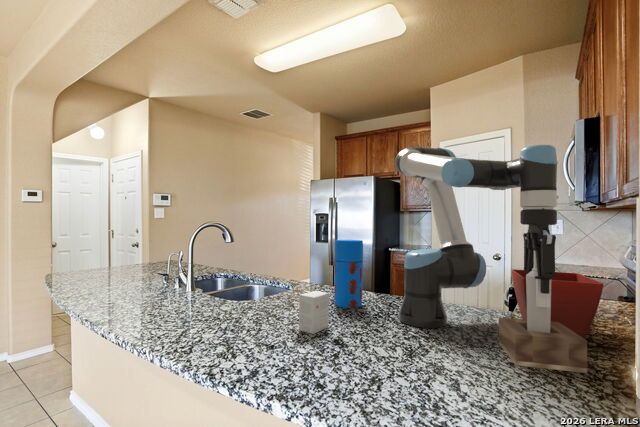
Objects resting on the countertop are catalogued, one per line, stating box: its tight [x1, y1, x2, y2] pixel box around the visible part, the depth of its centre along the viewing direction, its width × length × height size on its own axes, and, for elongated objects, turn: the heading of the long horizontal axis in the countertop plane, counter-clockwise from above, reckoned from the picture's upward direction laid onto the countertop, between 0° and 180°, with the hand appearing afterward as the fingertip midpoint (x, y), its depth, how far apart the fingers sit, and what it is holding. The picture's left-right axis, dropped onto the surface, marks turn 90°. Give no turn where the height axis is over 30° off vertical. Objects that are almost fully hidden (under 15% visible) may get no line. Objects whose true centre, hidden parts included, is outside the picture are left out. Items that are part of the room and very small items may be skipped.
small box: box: [298, 290, 330, 335], centre depth 99 cm, size 8×6×10 cm
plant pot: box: [511, 268, 604, 339], centre depth 101 cm, size 19×19×17 cm
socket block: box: [498, 316, 588, 374], centre depth 81 cm, size 14×14×7 cm
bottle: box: [526, 251, 551, 333], centre depth 81 cm, size 5×5×25 cm
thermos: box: [334, 239, 364, 309], centre depth 129 cm, size 11×11×25 cm
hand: (538, 303), depth 81 cm, fingers closed on bottle, 5 cm apart
